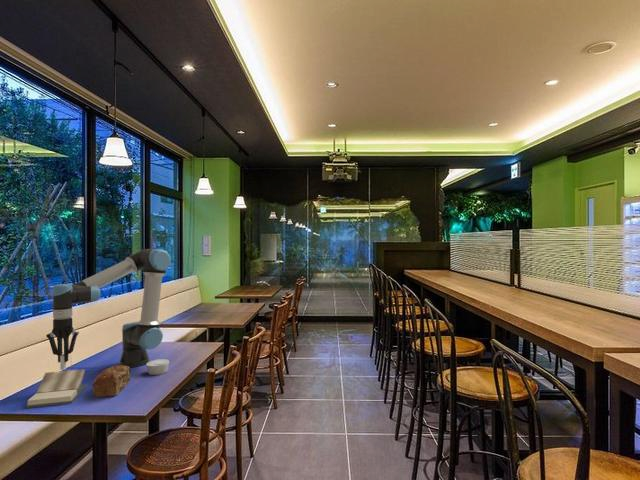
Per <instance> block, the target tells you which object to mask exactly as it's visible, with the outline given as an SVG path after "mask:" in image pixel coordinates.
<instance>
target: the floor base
mask: <svg viewBox="0 0 640 480" xmlns="http://www.w3.org/2000/svg"><path fill="white" fill-rule="evenodd" d="M87 387H88V384H87V383H86V384H81V385H80V388H79V391H78V392H77V389H75V390H65V391H55V392H45V393H34V395H32V396H31V397H30V398H29V399H28V400H27V404H26V406H25V408H26V409H31V408H38V407H49V406H58V405H68V404H73V403H74V402H75V400H76V399H77V398H78V397H79V396H80V395H81V394H82V393H83V391H84V390H86V388H87Z"/></svg>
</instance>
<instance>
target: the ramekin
mask: <svg viewBox="0 0 640 480" xmlns="http://www.w3.org/2000/svg"><path fill="white" fill-rule="evenodd" d="M169 365H170V360H169V359H166V358H163V359H162V358H160V359H158V358H157V359H152V360H149V362H148V363H147V364H145V367H146V371H147V373H148V374H149V375H151V376H157V375H158V376H159V375H163V374H165V373H167V372H168V370H169Z"/></svg>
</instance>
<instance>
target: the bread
mask: <svg viewBox="0 0 640 480" xmlns="http://www.w3.org/2000/svg"><path fill="white" fill-rule="evenodd" d="M130 380H131V367H129V366H124V365H119V364H118V365H112V366H111V367H108V368H106V369H104V370H102V371H101V372H100V373H98V374H97V376H96V378H95V379H93V382H92V383H93V384H92V390H93V397H96V398H109V397H115V396H117V395H118V394H119V393H120V392H122V391H123V390H124V389H125V387H127V385H128V384H129V383H130Z"/></svg>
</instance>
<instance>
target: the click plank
mask: <svg viewBox="0 0 640 480" xmlns="http://www.w3.org/2000/svg"><path fill="white" fill-rule="evenodd" d="M85 373H86V372H85V369H74V370H73V369H71V370H60V371H49V372H48V371H47V372H45V373H44V375H43V377H42V379H41V382H40V384H39V386H38V388H37V390H36V393H45V392H55V391H65V390H75V389H77V392H78V391H79V388H80V385H82V381H83V380H84V377H85V375H86V374H85ZM36 393H35V394H36Z"/></svg>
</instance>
